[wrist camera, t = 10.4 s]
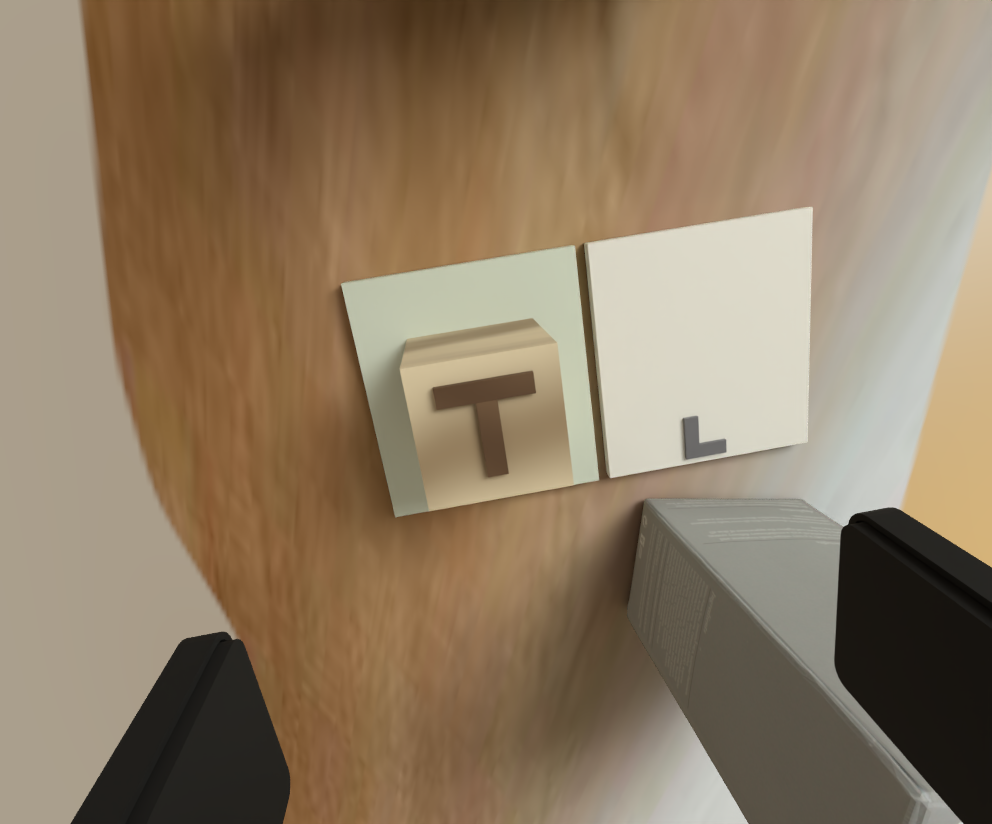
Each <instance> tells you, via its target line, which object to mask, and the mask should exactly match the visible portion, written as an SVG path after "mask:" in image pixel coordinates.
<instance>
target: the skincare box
mask: <svg viewBox="0 0 992 824" xmlns="http://www.w3.org/2000/svg"><path fill="white" fill-rule="evenodd" d="M842 528H843V526H841V525H840V524H838V523H837V522H835V521H833V520H832V519H830V518H829V517H827V516H826V515H824V514H823V513H821V512H820V511H818V510H817V509H815V508H814V507H812V506H811V505H809V504H808V503H806V502H805V501H804V500H801V499H645V501H644V505H643V512H642V519H641V526H640V533H639V539H638V546H637V553H636V559H635V566H634V573H633V579H632V585H631V592H630V599H629V603H628V608H627V610H628V612H627V617H628V619H629V621H630V623H631V625H632V626H633V628H634V630H635V632H636V633H637V635H638V637H639V639H640V640H641V642H642V644H643V645H644V647H645V649H646V651H647V652H648V654H649V656H650V657H651V659H652V661H653V662H654V664H655V666H656V667H657V669H658V671H659V672H660V674H661V676H662V677H663V679H664V681H665V682H666V684H667V686H668V688H669V689H670V691H671V693H672V695H673V696H674V698H675V700H676V701H677V703H678V705H679V706H680V708H681V710H682V711H683V713H684V715H685V716H686V718H687V720H688V721H689V723H690V725H691V726H692V728H693V730H694V732H695V733H696V735H697V737H698V738H699V740H700V742H701V744H702V745H703V747H704V749H705V750H706V752H707V754H708V756H709V757H710V759H711V761H712V762H713V764H714V766H715V767H716V769H717V771H718V772H719V774H720V776H721V777H722V779H723V781H724V783H725V784H726V786H727V788H728V789H729V791H730V793H731V795H732V796H733V798H734V800H735V801H736V803H737V805H738V806H739V808H740V810H741V812H742V813H743V815H744V817H745V818H746V820H747V822H748V823H749V824H963V823H962V822H961V821H960V820H959V818H958V817H957V816H956V815H955V814H954V813H953V811H952V810H951V809H950V808H949V807H948V806H947V805H946V803H945V802H944V801H943V800H942V799H941V798H940V797H939V795H938V794H937V793H936V792H935V791H934V790H933V789H932V787H931V786H930V785H929V784H928V783H927V782H926V780H925V779H924V778H923V777H922V776H921V775H920V774H919V772H918V771H917V770H916V769H915V768H914V767H913V766H912V764H911V763H910V762H909V761H908V760H907V759H906V757H905V756H904V755H903V754H902V753H901V752H900V751H899V749H898V748H897V747H896V746H895V745H894V744H893V743H892V741H891V740H890V739H889V738H888V737H887V736H886V734H885V733H884V732H883V731H882V730H881V729H880V728H879V726H878V725H877V724H876V723H875V722H874V721H873V720H872V718H871V717H870V716H869V715H868V714H867V713H866V711H865V710H864V709H863V708H862V707H861V706H860V705H859V703H858V702H857V701H856V700H855V699H854V698H853V697H852V695H851V694H850V693H849V692H848V691H847V690H846V689H845V687H844V686H843V684H842V683H841V681H840V679H839V678H838V675H837V673H836V669H835V665H834V654H835V634H836V614H837V594H838V575H839V555H840V535H841V530H842Z"/></svg>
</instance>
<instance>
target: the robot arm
mask: <svg viewBox="0 0 992 824" xmlns="http://www.w3.org/2000/svg"><path fill="white" fill-rule="evenodd" d="M834 665H835V669H836V673H837V675H838V678H839V679H840V681H841V683H842V684H843V686H844V687H845V689H846V690H847V691H848V692H849V693H850V694H851V695H852V697H853V698H854V699H855V700H856V701H857V702H858V703H859V705H860V706H861V707H862V708H863V709H864V710H865V711H866V713H867V714H868V715H869V716H870V717H871V718H872V720H873V721H874V722H875V723H876V724H877V725H878V726H879V728H880V729H881V730H882V731H883V732H884V733H885V734H886V736H887V737H888V738H889V739H890V740H891V741H892V743H893V744H894V745H895V746H896V747H897V748H898V749H899V751H900V752H901V753H902V754H903V755H904V756H905V757H906V759H907V760H908V761H909V762H910V763H911V764H912V766H913V767H914V768H915V769H916V770H917V771H918V772H919V774H920V775H921V776H922V777H923V778H924V779H925V780H926V782H927V783H928V784H929V785H930V786H931V787H932V789H933V790H934V791H935V792H936V793H937V794H938V795H939V797H940V798H941V799H942V800H943V801H944V802H945V803H946V805H947V806H948V807H949V808H950V809H951V810H952V811H953V813H954V814H955V815H956V816H957V817H958V818H959V820H960V821H961V822H962V823H963V824H992V568H991V567H990V566H988V565H987V564H985V563H984V562H982V561H980V560H979V559H977V558H976V557H974V556H972V555H971V554H969V553H968V552H966V551H964V550H963V549H961V548H960V547H958V546H957V545H955V544H953V543H952V542H950V541H949V540H947V539H945V538H944V537H942V536H941V535H939V534H937V533H936V532H934V531H933V530H931V529H930V528H928V527H926V526H925V525H923V524H921V523H920V522H918V521H917V520H915V519H914V518H912V517H910V516H909V515H907V514H906V513H904V512H903V511H901V510H899V509H896V508H884V509H878V510H873V511H868V512H862V513H857V514H855V515H853V516H852V517H851V518H850V520H849V524H848V525H846V526H844V527H843V528H842V530H841V535H840V555H839V575H838V594H837V614H836V634H835V654H834ZM289 795H290V774H289V770H288V766H287V764H286V761H285V758H284V755H283V752H282V749H281V747H280V744H279V741H278V738H277V735H276V733H275V730H274V727H273V724H272V721H271V719H270V716H269V713H268V710H267V707H266V704H265V702H264V699H263V696H262V693H261V690H260V688H259V685H258V682H257V679H256V676H255V674H254V671H253V668H252V665H251V662H250V660H249V657H248V654H247V651H246V648H245V646H244V644H243V642H242V641H241V640H240V639H235V640H232V638H231V636H230V635H229V634H228V633H227V632H218V633H212V634H207V635H201V636H197V637H191V638H186V639H184V640H182V642H180V644H179V645H178V646H177V648H176V650H175V651H174V653H173V655H172V656H171V658H170V660H169V661H168V663H167V665H166V666H165V668H164V670H163V671H162V673H161V675H160V676H159V678H158V680H157V681H156V683H155V685H154V686H153V688H152V690H151V691H150V693H149V694H148V696H147V698H146V699H145V701H144V703H143V704H142V706H141V708H140V710H139V711H138V713H137V714H136V716H135V718H134V719H133V721H132V723H131V724H130V726H129V728H128V729H127V731H126V733H125V734H124V736H123V738H122V739H121V741H120V743H119V744H118V746H117V748H116V749H115V751H114V753H113V754H112V756H111V757H110V759H109V761H108V762H107V764H106V766H105V767H104V769H103V771H102V773H101V774H100V776H99V777H98V779H97V781H96V782H95V784H94V786H93V788H92V789H91V791H90V792H89V794H88V796H87V797H86V799H85V801H84V802H83V804H82V806H81V807H80V809H79V811H78V812H77V814H76V816H75V817H74V819H73V821H72V822H71V824H283V820H284V816H285V812H286V808H287V804H288V800H289Z"/></svg>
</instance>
